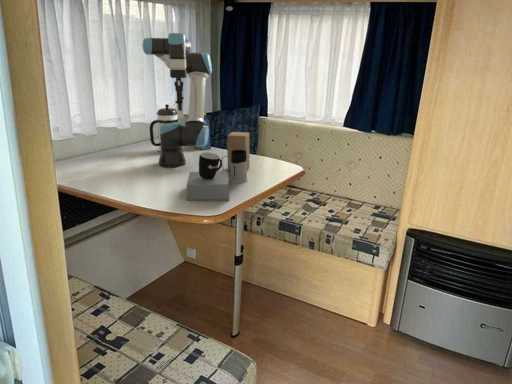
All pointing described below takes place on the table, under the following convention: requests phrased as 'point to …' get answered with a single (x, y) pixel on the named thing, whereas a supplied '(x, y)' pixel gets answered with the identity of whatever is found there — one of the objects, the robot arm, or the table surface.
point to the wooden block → (238, 145)
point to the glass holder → (238, 166)
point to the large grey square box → (208, 187)
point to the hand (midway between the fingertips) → (180, 115)
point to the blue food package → (208, 145)
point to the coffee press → (163, 121)
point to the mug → (209, 165)
